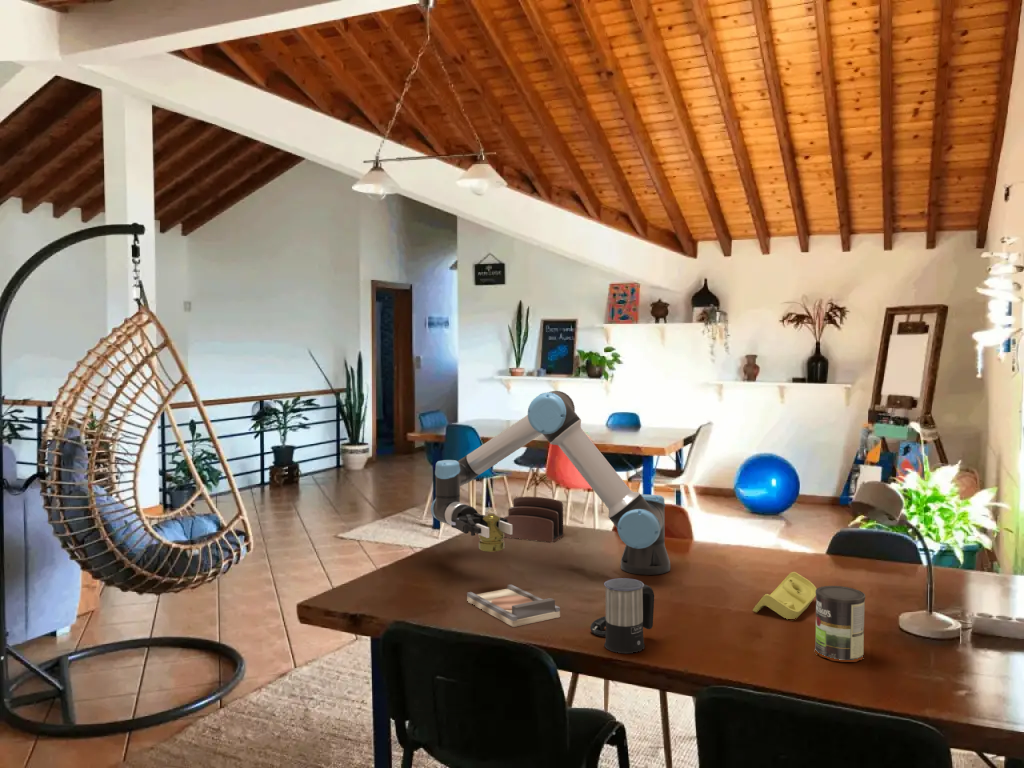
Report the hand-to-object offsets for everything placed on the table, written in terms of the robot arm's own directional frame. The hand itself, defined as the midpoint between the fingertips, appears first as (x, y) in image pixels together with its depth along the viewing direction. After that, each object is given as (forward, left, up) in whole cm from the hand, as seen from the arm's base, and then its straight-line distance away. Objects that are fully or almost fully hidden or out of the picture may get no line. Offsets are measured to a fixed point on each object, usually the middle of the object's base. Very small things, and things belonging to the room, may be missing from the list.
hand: (499, 531), depth 229 cm
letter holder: (+23, -65, -18) cm, 71 cm away
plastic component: (-73, -24, -18) cm, 79 cm away
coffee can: (-89, +3, -18) cm, 91 cm away
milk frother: (-42, +18, -18) cm, 49 cm away
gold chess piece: (+4, -3, -6) cm, 8 cm away
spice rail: (-9, +9, -18) cm, 22 cm away
